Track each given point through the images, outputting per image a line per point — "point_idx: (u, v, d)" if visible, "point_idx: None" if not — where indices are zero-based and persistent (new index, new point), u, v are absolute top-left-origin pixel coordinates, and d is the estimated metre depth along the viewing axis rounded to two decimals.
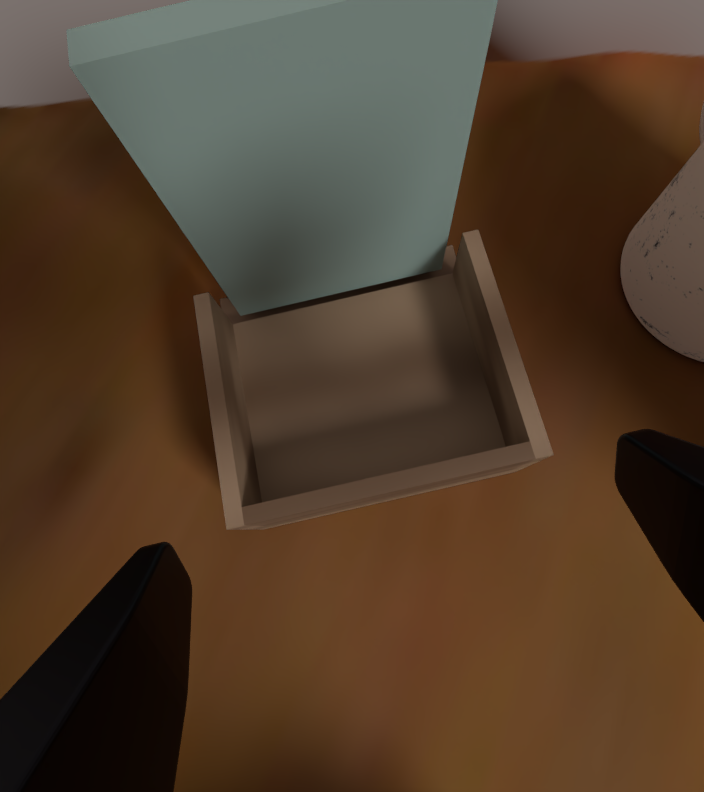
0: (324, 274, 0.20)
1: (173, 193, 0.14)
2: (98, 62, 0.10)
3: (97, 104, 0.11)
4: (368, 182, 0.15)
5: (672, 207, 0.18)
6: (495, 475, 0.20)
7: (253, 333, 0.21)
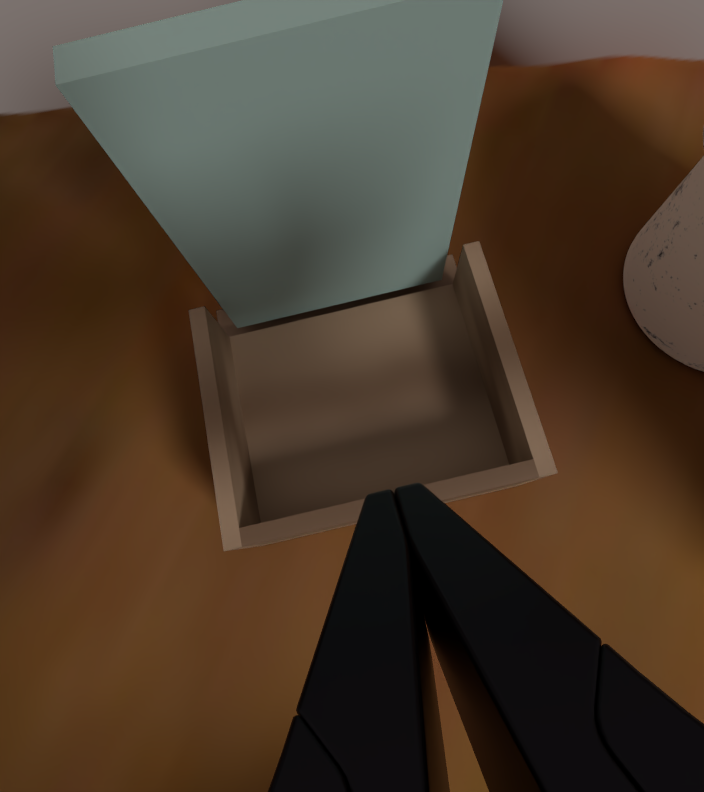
0: (322, 286, 0.19)
1: (166, 209, 0.13)
2: (85, 80, 0.10)
3: (86, 122, 0.10)
4: (367, 196, 0.15)
5: (677, 217, 0.18)
6: (497, 490, 0.20)
7: (250, 346, 0.21)
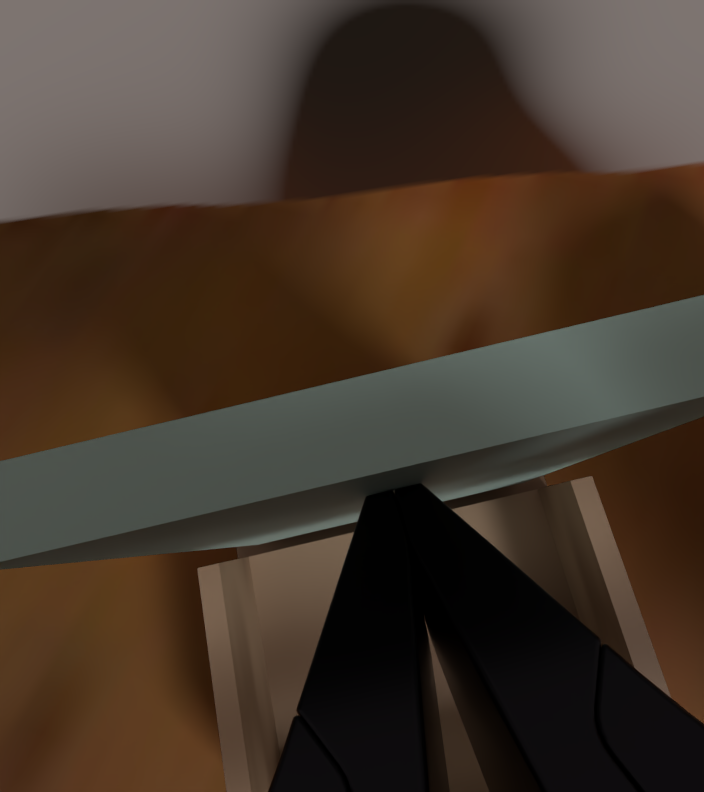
0: None
1: (167, 550, 0.09)
2: (6, 561, 0.05)
3: (19, 565, 0.06)
4: (463, 485, 0.10)
5: None
6: None
7: (276, 571, 0.16)
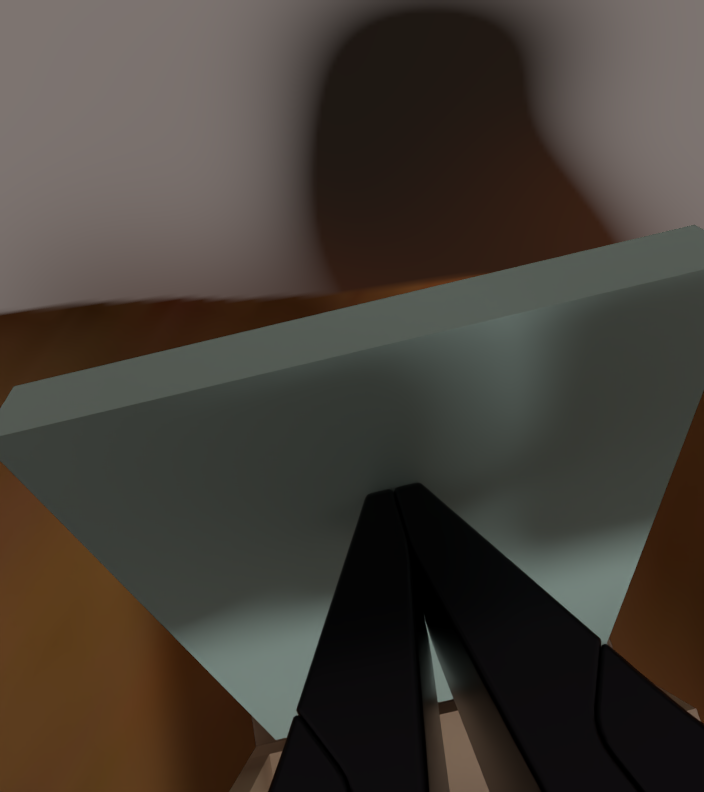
0: None
1: (166, 598, 0.08)
2: (32, 431, 0.06)
3: (33, 489, 0.06)
4: None
5: None
6: None
7: None
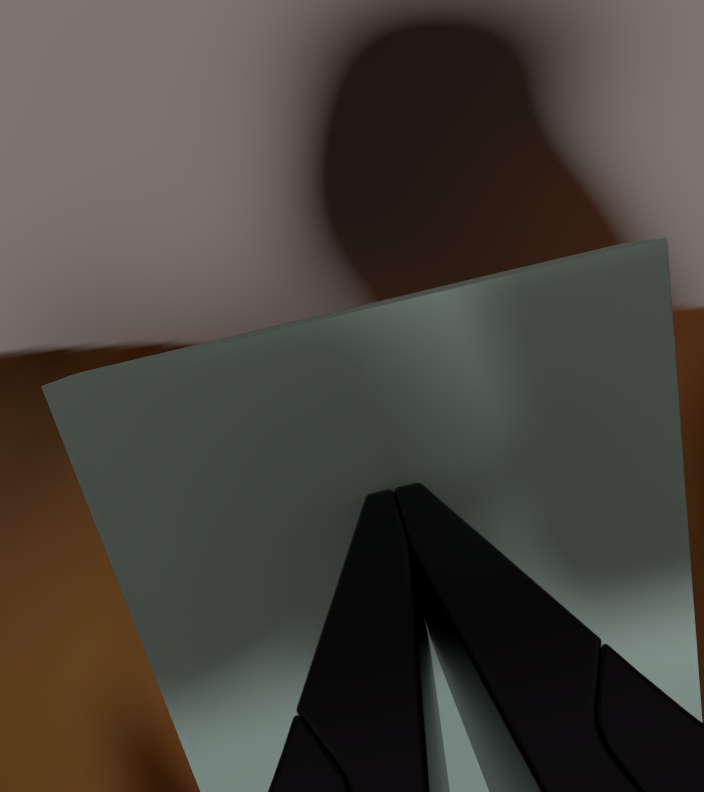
0: None
1: (160, 620, 0.08)
2: (81, 380, 0.07)
3: (68, 447, 0.07)
4: None
5: None
6: None
7: None
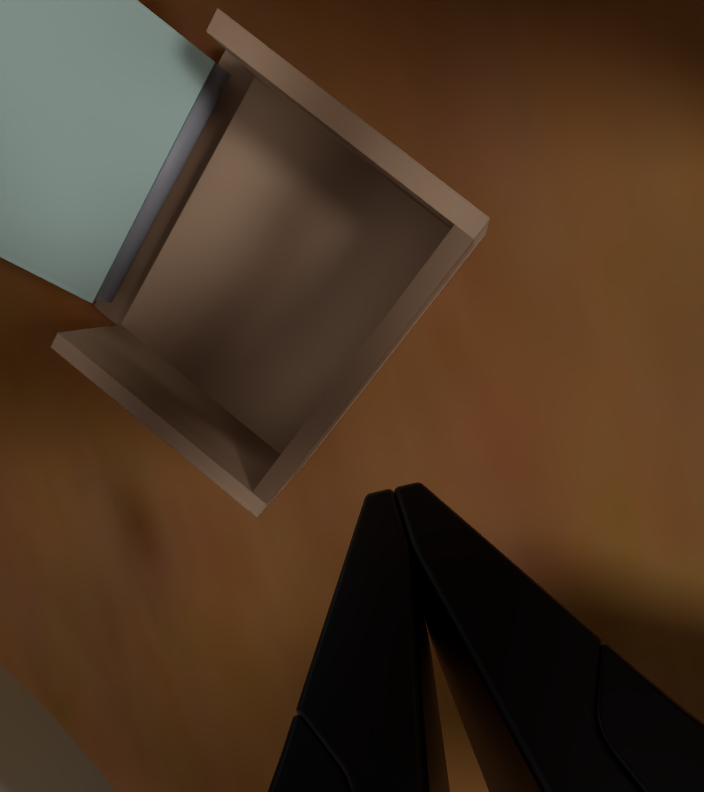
0: (85, 172, 0.16)
1: None
2: None
3: None
4: None
5: None
6: (465, 259, 0.16)
7: (143, 317, 0.18)
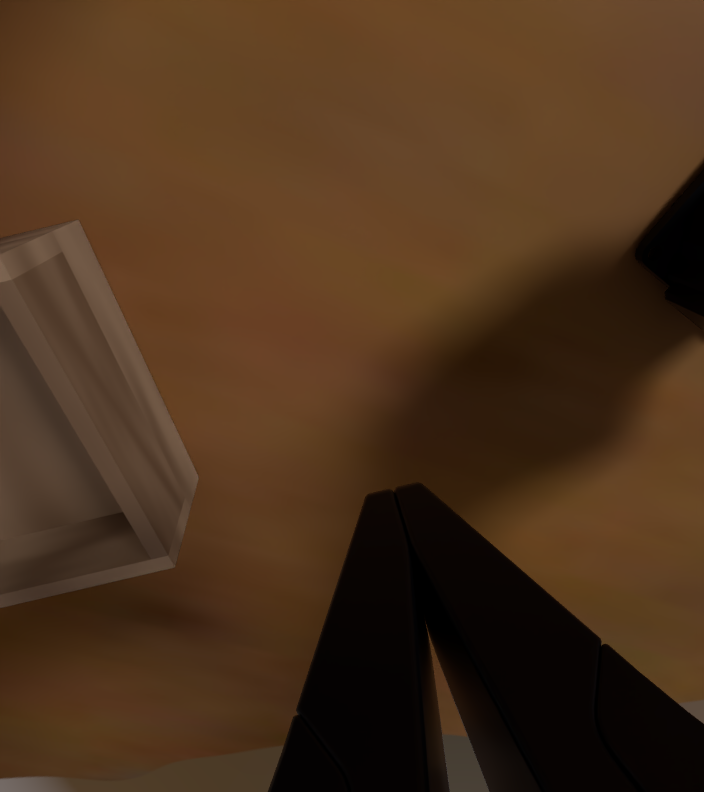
0: None
1: None
2: None
3: None
4: None
5: None
6: (84, 256, 0.16)
7: None
